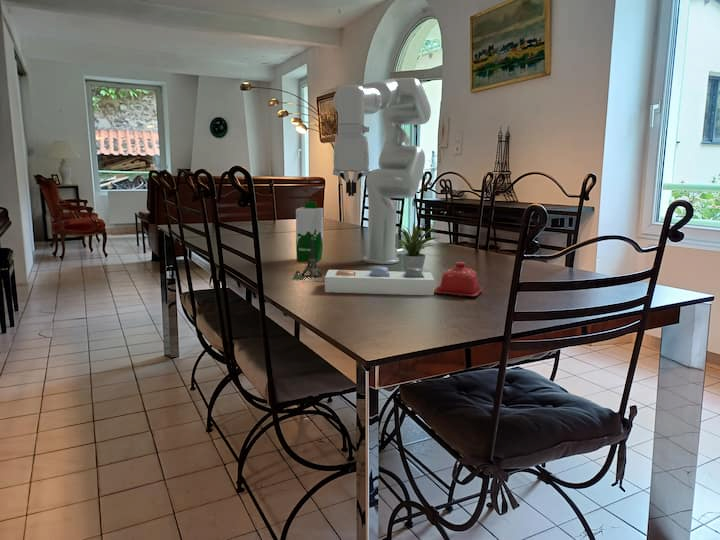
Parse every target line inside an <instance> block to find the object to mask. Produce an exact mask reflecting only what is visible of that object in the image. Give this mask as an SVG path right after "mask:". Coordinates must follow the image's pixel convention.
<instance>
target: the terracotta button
mask: <svg viewBox="0 0 720 540" xmlns="http://www.w3.org/2000/svg"><path fill="white" fill-rule="evenodd" d="M338 270H339V271H337V275H338V276H354V271H352V269H351V270H350V269H338Z"/></svg>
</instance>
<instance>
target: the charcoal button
mask: <svg viewBox="0 0 720 540" xmlns="http://www.w3.org/2000/svg"><path fill="white" fill-rule="evenodd" d="M422 272H423V270H422V269H421V268H415V267H409V268H405V277H410V278H422Z"/></svg>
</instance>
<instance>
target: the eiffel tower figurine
mask: <svg viewBox="0 0 720 540" xmlns="http://www.w3.org/2000/svg"><path fill="white" fill-rule="evenodd" d="M313 239H314V237H313V236H312V237H311V251H310V258H309V262H307V265H306V266H305V268H304V270H302V271H303V273H300V271H301V270H296V271H295V272H294V275H293V277H292V280H294V281H298V280H303V279H304V278H305V277H306V278H308V277H310V278H311V280H313V279H312V278H313V277H314V279H319V278H325V276H326V275H324V274H323V272H322V271H321V270H320V268H319V267H320V266H318V264H317V263H316V261H315V260H316V259H315V256H314V244H313ZM307 272H309V273H308V274H307ZM316 272H317V273H318V274H316ZM298 273H300V274H299V275H298ZM306 278H305V279H306ZM305 279H304V280H305ZM308 279H309V278H308ZM316 282H319V280H316Z"/></svg>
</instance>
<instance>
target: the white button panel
mask: <svg viewBox="0 0 720 540" xmlns="http://www.w3.org/2000/svg"><path fill="white" fill-rule="evenodd" d="M339 270H340V269H328V270H327V272H326V275H324V276H325V277H324V292H325V293H336V294H337V293H339V294H374V295H375V294H376V295H377V294H380V295H404V296H405V295H411V296H415V295H416V296H434V295H435V292H434V290H435V282H436V281H435V279H434V276H433V274H432V273H431V272H429V271H428V272H427V271H426V272H425V271H422V278H410V277H405V272H404V271H391V270H388V277H374V276H371V270H356V269H355V270H354V269H353V270H352V269H351V270H352V271H354V276H338V275H337V271H339Z"/></svg>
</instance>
